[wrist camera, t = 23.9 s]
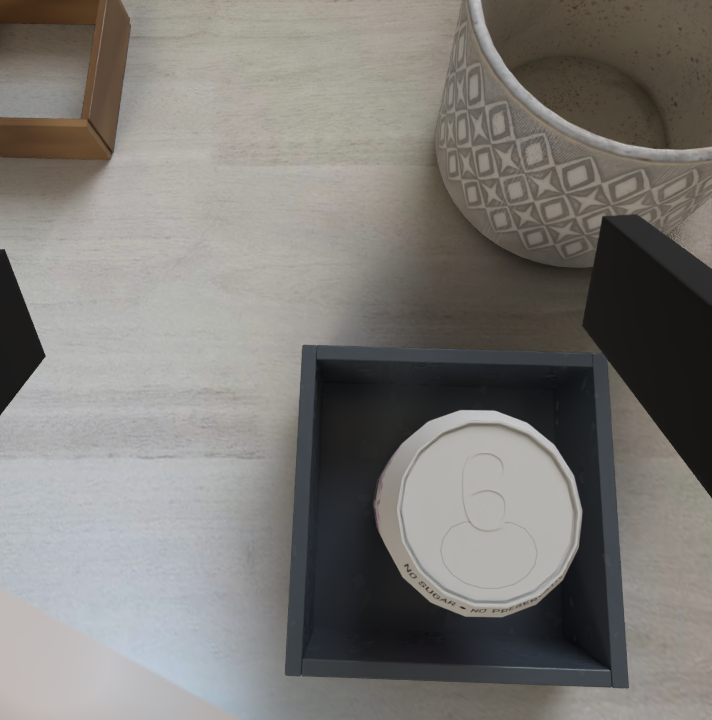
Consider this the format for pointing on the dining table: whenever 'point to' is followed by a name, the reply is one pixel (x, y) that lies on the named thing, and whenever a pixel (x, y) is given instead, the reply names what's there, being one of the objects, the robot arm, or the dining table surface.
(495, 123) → the planter
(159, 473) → the dining table surface
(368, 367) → the grey storage bin
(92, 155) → the box
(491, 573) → the supplement can
